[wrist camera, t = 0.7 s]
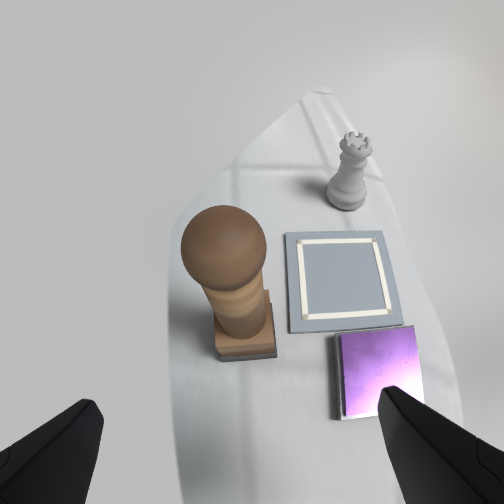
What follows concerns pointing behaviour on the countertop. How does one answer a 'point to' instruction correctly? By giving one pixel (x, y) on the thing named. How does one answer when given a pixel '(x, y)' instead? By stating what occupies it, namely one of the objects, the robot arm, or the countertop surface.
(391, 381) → the ink pad
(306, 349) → the countertop surface
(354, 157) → the rook chess piece
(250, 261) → the wooden ball finial
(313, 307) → the marked card
